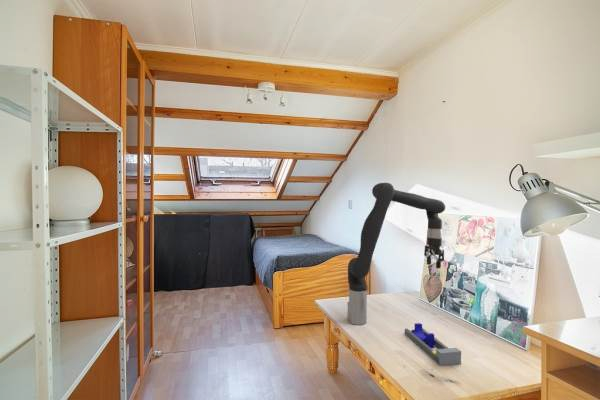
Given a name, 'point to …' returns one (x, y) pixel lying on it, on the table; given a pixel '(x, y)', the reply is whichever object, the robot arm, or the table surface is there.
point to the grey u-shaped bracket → (437, 350)
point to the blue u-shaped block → (419, 333)
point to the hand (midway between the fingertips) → (433, 266)
